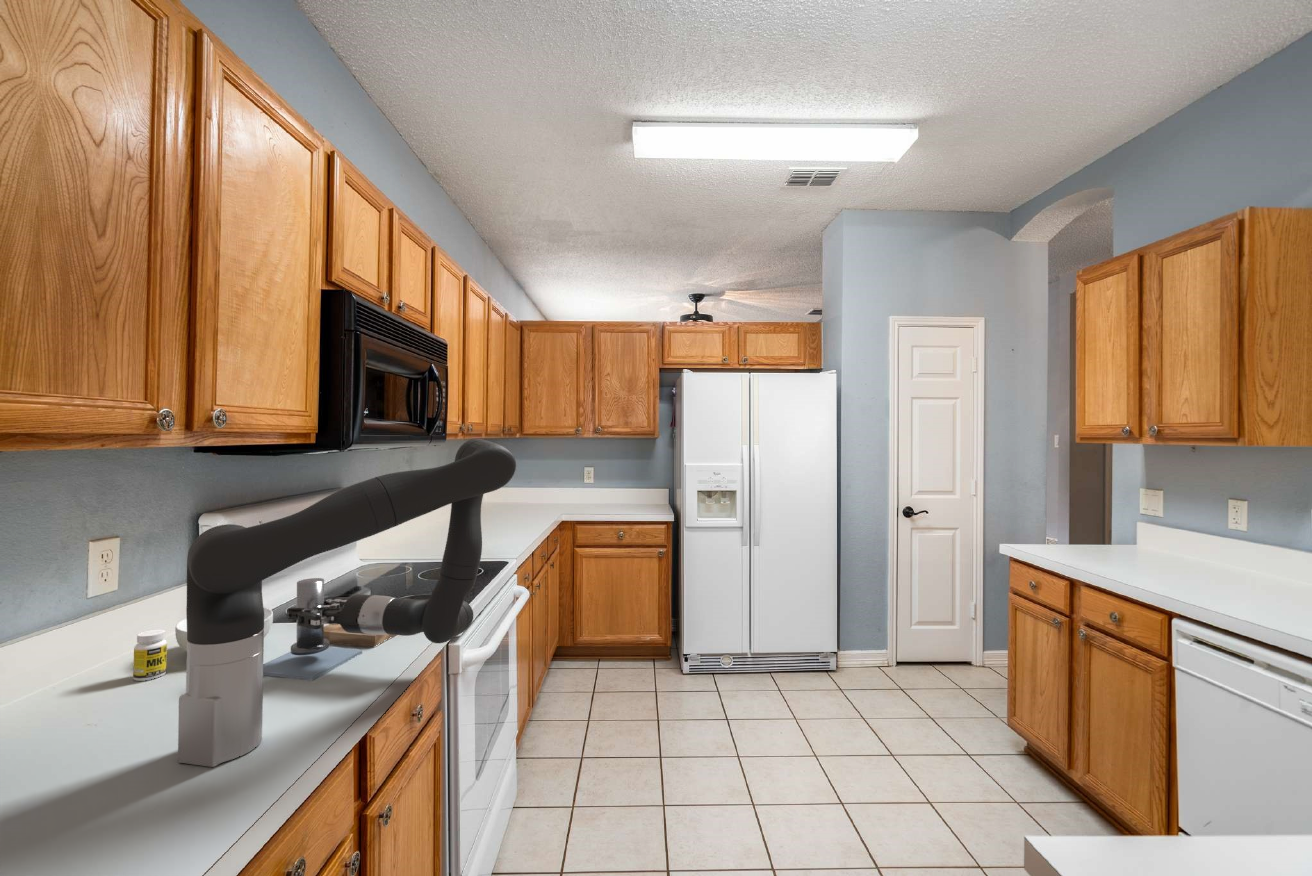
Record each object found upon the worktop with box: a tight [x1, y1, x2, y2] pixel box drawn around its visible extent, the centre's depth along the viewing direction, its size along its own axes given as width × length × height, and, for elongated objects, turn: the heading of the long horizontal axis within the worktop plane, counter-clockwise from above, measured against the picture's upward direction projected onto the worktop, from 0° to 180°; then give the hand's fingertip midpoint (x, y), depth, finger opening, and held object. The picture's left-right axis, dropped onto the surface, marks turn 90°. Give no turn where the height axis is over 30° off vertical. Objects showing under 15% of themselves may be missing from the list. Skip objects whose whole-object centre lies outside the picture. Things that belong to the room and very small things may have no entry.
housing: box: [324, 624, 395, 647], centre depth 134 cm, size 15×15×2 cm
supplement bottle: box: [132, 629, 168, 682], centre depth 109 cm, size 5×5×8 cm
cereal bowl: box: [175, 606, 274, 652], centre depth 122 cm, size 17×17×7 cm
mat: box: [263, 646, 363, 681], centre depth 117 cm, size 14×14×1 cm
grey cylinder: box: [290, 577, 330, 655], centre depth 117 cm, size 7×7×14 cm
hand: (299, 609), depth 117 cm, fingers closed on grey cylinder, 4 cm apart
